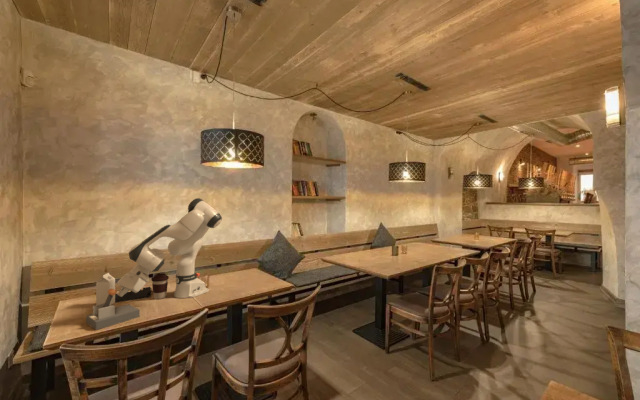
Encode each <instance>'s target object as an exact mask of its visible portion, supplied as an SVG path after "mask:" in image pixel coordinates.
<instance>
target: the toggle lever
mask: <svg viewBox="0 0 640 400" xmlns="http://www.w3.org/2000/svg"><path fill="white" fill-rule="evenodd" d="M108 294H109V295H108V297H107V299H106V302H105V304H104V306H103V308H104V307H108V306H109V304H110V302H111V299H112V297H113V295H115V294H117V290H116V289H115V290H114V289H109V290H108Z"/></svg>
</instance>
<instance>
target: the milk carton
mask: <svg viewBox="0 0 640 400" xmlns="http://www.w3.org/2000/svg"><path fill="white" fill-rule="evenodd" d="M95 283H96V284H95V285H96V286H95V287H96V290H95V291H96V294H95V295H96V296H95V297H96V299H95V303H96V305H99V304H103V303H105V302H106V299H107V297H108V295H109V294H108V290H109V289H114V290H116V277H113V275H111V274H110V272H107V273H105V274H103V275H102V277H100V279H98V280H97V281H96V282H95ZM114 304H115V295H113V297H112V299H111V302H110V304H109V306H112V305H114Z"/></svg>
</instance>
